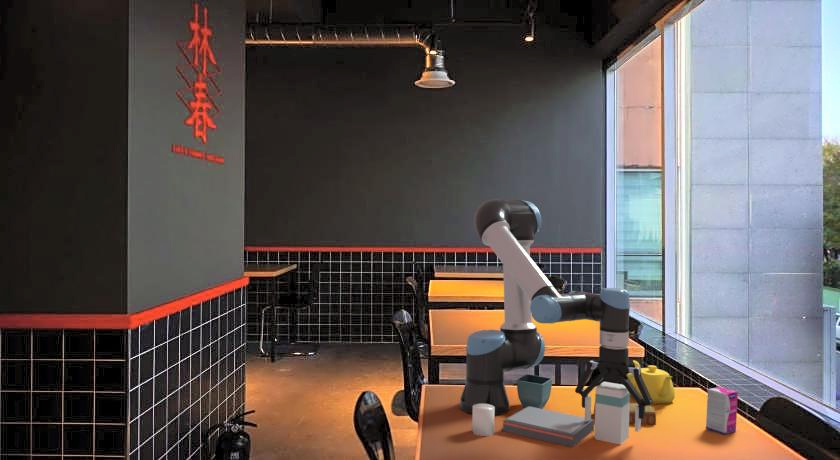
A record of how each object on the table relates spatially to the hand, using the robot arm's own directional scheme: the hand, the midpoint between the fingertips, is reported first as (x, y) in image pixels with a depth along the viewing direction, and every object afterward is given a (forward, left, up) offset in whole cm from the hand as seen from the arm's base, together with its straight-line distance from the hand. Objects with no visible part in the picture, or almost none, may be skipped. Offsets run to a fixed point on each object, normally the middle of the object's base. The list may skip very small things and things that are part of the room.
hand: (612, 425), depth 167 cm
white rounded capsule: (-30, -17, -4) cm, 35 cm away
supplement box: (+23, +25, -4) cm, 34 cm away
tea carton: (0, 0, -4) cm, 4 cm away
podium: (-16, -5, -3) cm, 17 cm away
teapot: (-2, +44, -4) cm, 44 cm away
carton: (-2, +18, -4) cm, 19 cm away
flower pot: (-28, +12, -4) cm, 31 cm away
